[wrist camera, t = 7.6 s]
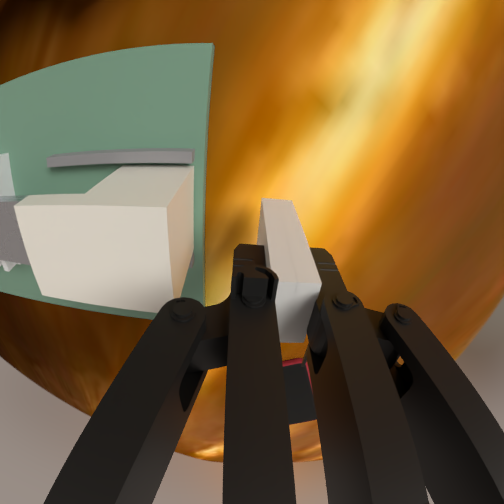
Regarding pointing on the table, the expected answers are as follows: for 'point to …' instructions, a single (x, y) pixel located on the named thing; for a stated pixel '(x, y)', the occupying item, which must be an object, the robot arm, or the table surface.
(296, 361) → the smartphone
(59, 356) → the table surface
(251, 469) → the robot arm
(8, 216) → the grey board dark edge
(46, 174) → the heatsink board
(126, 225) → the white stepped block
